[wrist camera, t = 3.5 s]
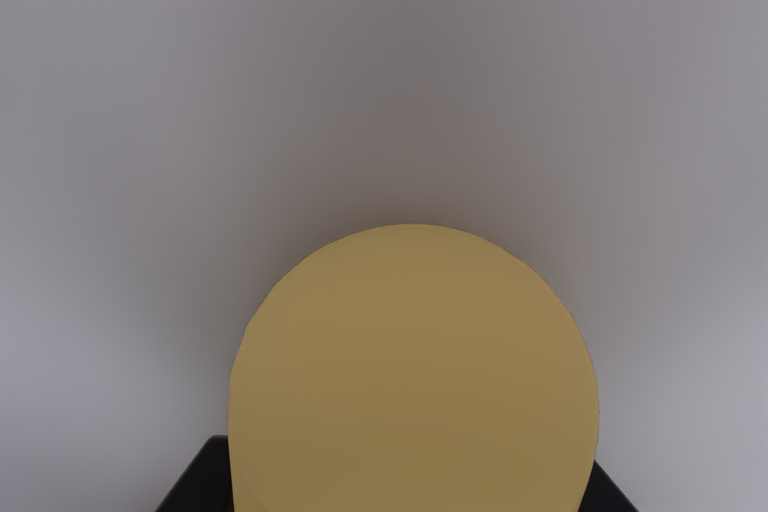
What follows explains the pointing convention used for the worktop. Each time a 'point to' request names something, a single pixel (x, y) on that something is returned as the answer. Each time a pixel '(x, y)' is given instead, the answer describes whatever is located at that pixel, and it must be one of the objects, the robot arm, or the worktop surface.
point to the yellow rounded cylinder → (411, 383)
